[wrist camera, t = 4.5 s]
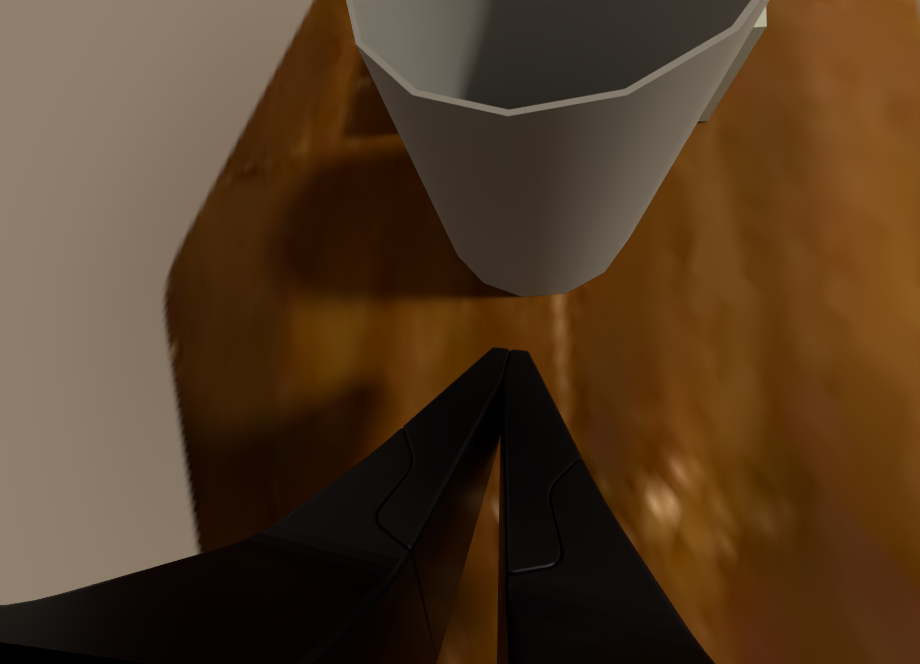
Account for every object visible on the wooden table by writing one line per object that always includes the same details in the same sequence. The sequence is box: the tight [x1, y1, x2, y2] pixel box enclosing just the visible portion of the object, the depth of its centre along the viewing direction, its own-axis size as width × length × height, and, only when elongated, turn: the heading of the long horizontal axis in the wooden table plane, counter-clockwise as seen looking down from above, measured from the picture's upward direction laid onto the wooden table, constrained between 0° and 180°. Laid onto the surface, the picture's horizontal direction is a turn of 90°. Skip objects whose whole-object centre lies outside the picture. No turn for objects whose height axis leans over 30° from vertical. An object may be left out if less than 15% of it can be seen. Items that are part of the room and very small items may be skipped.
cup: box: [346, 0, 769, 297], centre depth 11 cm, size 8×8×10 cm
